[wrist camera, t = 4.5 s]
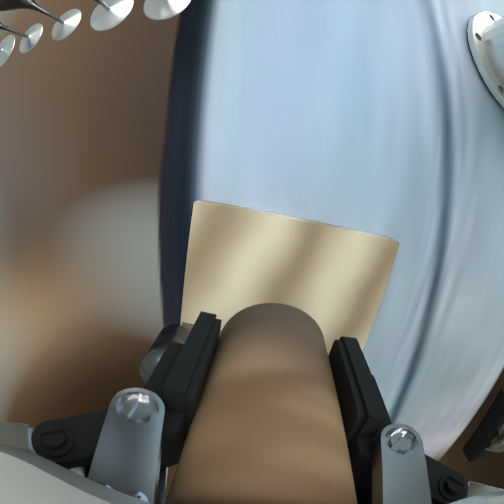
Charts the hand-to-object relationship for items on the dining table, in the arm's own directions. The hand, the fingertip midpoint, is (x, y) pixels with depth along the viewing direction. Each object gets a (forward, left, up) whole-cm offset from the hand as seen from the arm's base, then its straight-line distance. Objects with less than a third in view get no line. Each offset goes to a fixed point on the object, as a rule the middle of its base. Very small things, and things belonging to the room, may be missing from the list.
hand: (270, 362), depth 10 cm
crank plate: (-2, +4, -13) cm, 13 cm away
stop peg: (0, 0, -1) cm, 1 cm away
